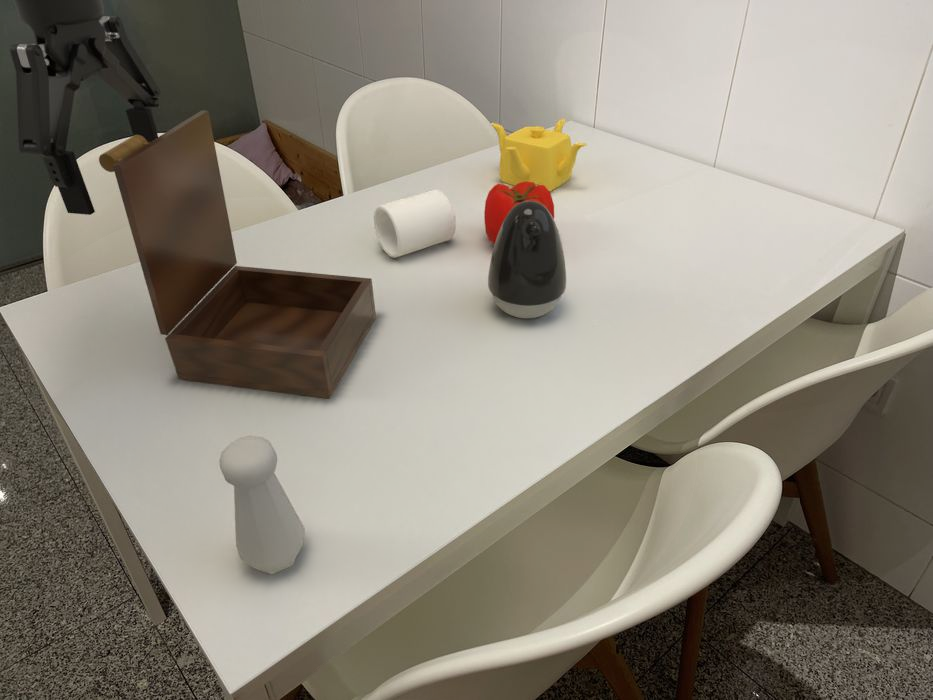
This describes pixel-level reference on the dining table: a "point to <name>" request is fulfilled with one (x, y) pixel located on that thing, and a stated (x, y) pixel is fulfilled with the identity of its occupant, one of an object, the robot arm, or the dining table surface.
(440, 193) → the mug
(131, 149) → the lid
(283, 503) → the salt shaker
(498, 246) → the black tumbler egg
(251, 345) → the wooden box
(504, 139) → the teapot
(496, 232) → the tomato
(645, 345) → the dining table surface
